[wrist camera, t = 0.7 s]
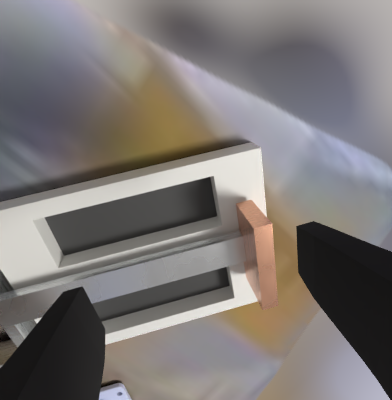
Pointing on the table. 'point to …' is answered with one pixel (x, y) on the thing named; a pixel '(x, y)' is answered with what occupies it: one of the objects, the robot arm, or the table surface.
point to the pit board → (138, 234)
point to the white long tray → (150, 274)
